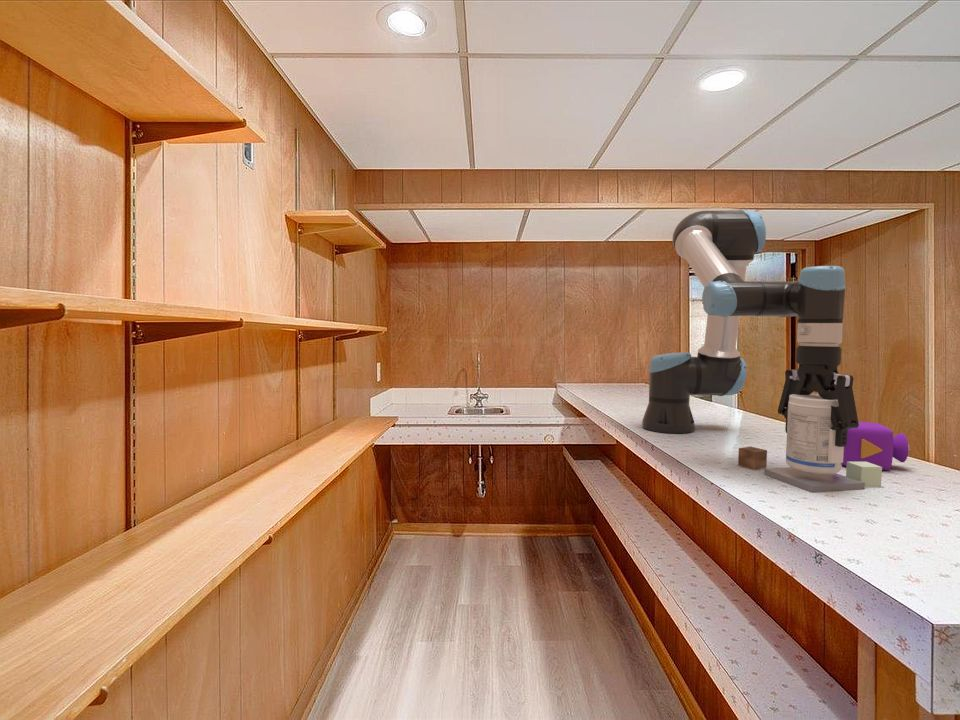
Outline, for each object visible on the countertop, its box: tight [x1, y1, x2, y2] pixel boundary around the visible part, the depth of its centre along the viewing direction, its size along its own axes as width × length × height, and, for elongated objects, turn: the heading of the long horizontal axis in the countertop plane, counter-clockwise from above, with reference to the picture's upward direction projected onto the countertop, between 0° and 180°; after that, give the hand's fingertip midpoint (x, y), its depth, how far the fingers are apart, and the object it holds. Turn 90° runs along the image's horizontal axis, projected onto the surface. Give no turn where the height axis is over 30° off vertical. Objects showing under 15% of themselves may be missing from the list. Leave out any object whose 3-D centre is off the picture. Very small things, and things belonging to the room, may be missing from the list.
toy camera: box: [842, 421, 910, 471], centre depth 114 cm, size 11×14×10 cm
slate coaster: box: [763, 466, 866, 493], centre depth 102 cm, size 12×12×1 cm
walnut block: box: [737, 445, 768, 471], centre depth 113 cm, size 4×4×4 cm
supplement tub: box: [785, 393, 843, 474], centre depth 102 cm, size 10×10×15 cm
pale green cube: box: [845, 462, 883, 488], centre depth 101 cm, size 4×4×4 cm
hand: (813, 455), depth 102 cm, fingers closed on supplement tub, 9 cm apart
